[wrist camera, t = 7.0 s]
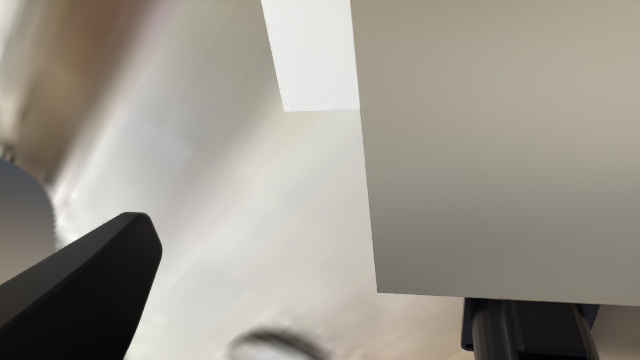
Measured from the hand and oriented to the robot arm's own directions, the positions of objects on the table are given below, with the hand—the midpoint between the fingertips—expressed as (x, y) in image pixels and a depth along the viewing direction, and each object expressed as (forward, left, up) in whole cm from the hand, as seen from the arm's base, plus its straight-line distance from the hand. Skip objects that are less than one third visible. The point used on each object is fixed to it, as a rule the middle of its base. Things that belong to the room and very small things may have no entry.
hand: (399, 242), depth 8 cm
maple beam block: (+5, -2, -6) cm, 8 cm away
